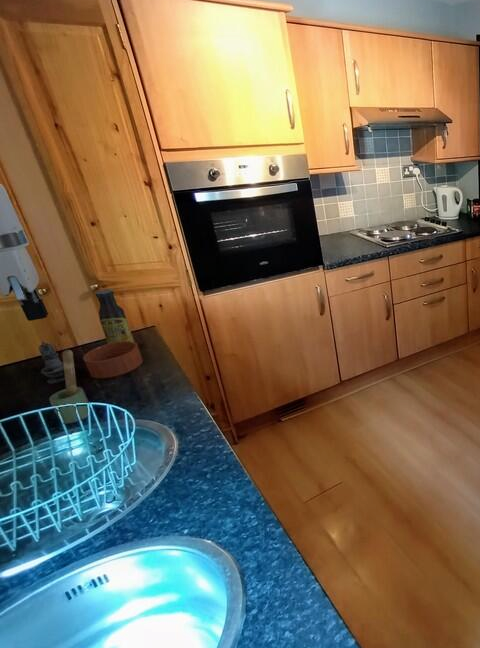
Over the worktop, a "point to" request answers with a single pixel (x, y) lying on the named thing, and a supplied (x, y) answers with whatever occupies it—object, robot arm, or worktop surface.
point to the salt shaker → (52, 364)
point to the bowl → (113, 359)
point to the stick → (69, 372)
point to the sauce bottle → (113, 318)
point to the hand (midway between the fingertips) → (38, 317)
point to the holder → (70, 412)
